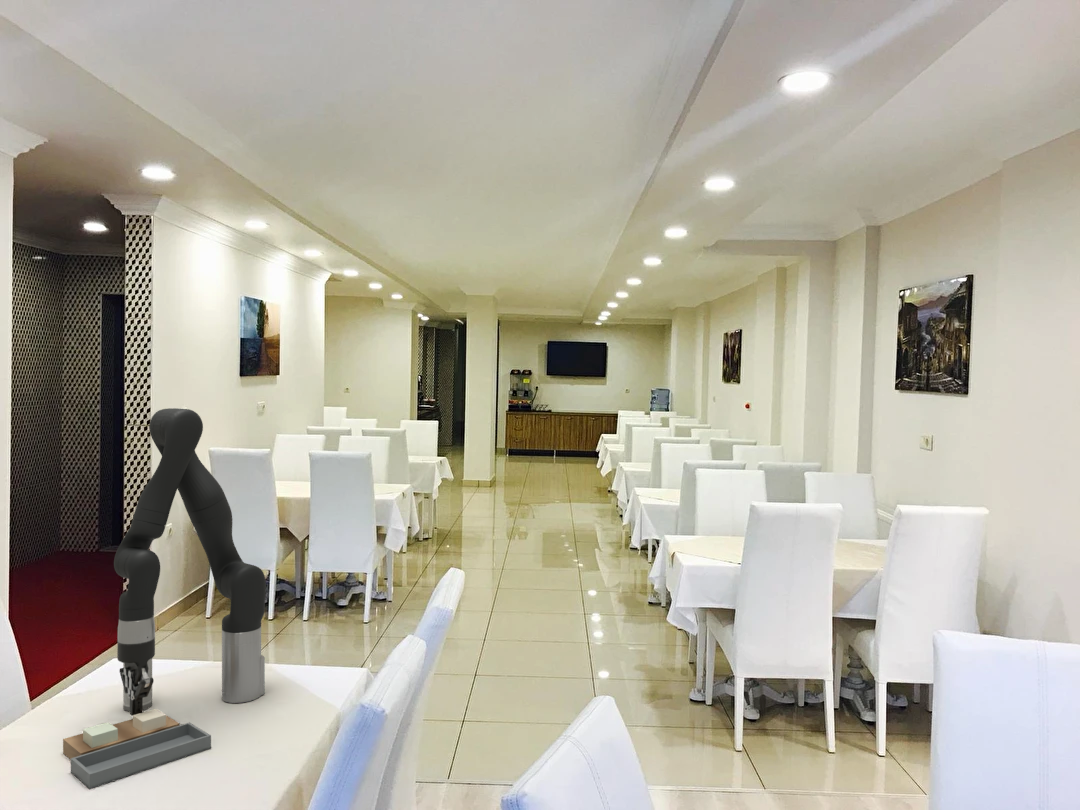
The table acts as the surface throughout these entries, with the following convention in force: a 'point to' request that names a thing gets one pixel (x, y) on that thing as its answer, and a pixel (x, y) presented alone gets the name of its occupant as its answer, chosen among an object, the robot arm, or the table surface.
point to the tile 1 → (100, 734)
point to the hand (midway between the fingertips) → (136, 714)
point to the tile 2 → (149, 720)
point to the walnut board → (125, 733)
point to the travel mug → (146, 700)
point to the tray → (139, 754)
